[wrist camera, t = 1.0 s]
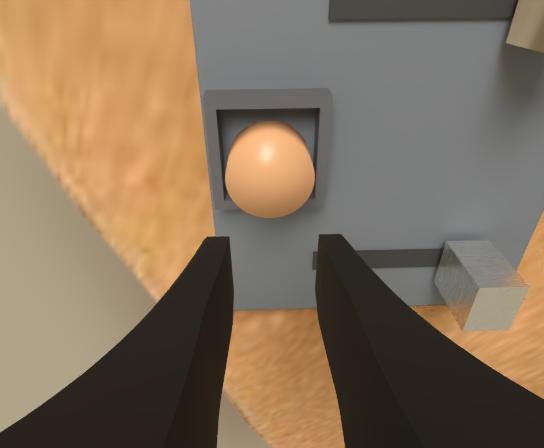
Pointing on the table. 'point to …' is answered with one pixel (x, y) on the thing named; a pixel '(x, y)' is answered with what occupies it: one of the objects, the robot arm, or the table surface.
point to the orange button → (269, 170)
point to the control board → (374, 134)
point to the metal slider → (479, 285)
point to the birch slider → (528, 25)
